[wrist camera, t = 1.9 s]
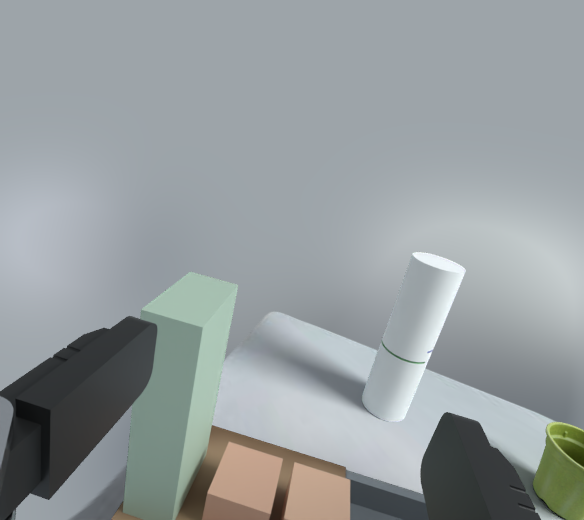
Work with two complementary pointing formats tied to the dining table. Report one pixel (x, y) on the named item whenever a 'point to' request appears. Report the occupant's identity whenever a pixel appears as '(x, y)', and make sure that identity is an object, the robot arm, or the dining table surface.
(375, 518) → the tray
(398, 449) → the dining table surface
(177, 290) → the tall sage green panel
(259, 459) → the tile
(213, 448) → the bench
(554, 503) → the plant pot
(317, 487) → the tile
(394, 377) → the cylindrical container
